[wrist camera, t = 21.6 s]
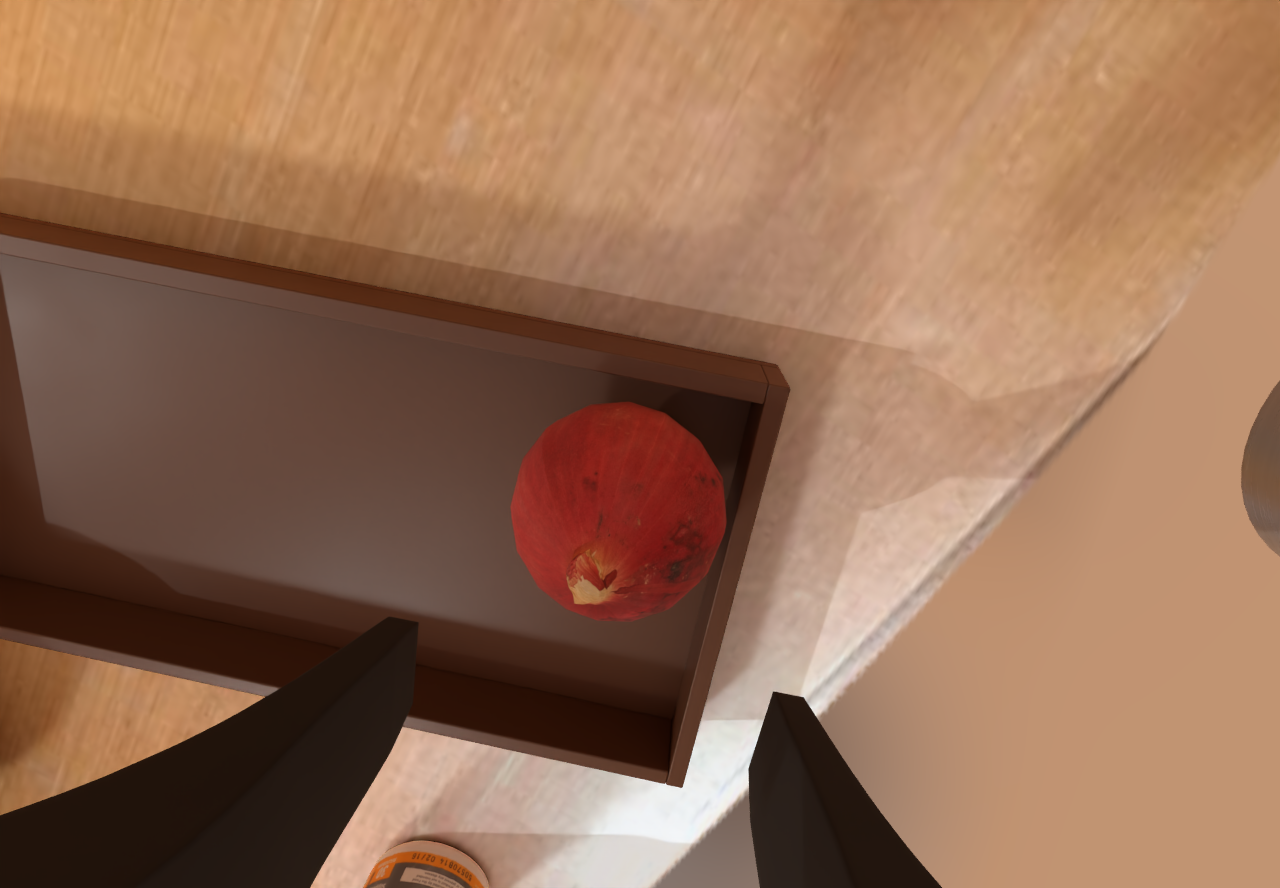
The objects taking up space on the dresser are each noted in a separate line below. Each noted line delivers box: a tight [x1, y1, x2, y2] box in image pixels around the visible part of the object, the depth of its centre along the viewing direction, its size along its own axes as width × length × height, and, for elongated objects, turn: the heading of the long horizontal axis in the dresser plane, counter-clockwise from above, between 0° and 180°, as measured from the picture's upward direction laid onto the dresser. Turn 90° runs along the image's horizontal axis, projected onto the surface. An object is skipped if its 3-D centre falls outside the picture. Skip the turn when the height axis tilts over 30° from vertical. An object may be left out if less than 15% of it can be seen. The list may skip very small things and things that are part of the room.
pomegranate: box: [511, 402, 727, 622], centre depth 17 cm, size 6×6×8 cm
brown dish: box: [0, 213, 790, 788], centre depth 21 cm, size 30×15×3 cm, turn 80°
